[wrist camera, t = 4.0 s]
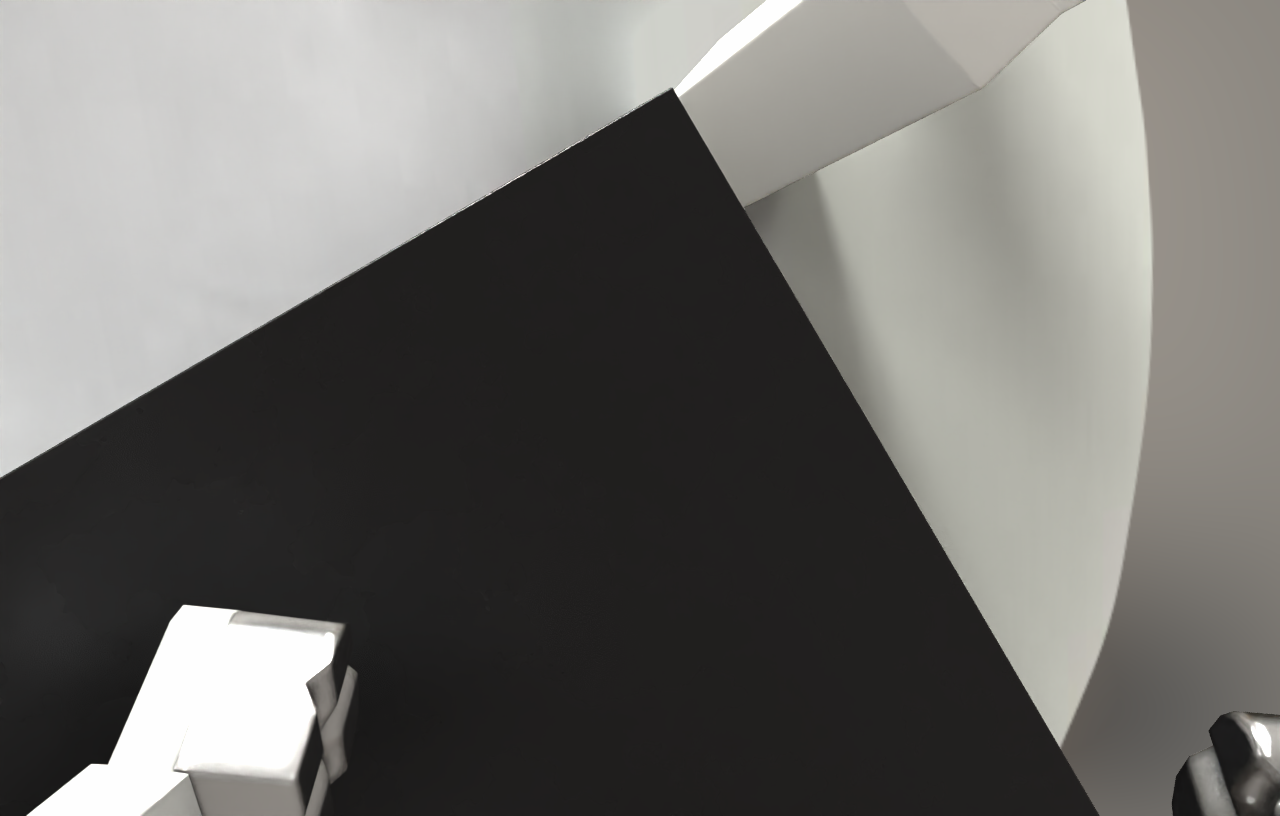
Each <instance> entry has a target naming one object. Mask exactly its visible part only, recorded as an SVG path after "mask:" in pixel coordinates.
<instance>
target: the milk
mask: <svg viewBox="0 0 1280 816" xmlns="http://www.w3.org/2000/svg"><path fill="white" fill-rule="evenodd" d="M1084 1H1086V0H767V1H766V2H765V3H763V4H762V5H761V6H760V7H759V8H757V9H756V10H755V11H754V12H753V13H751V14H750V15H749V16H748V17H747V18H745V19H744V20H743V21H742V22H741V23H739V24H738V25H737V26H736V27H735V28H733V29H732V30H731V31H730V32H729V33H727V34H726V35H725V36H724V37H723V38H721V39H720V40H719V41H718V43H717V44H716V45H715V46H714V47H713V48H712V49H711V50H710V51H709V52H708V54H707V55H706V56H705V57H704V58H703V59H702V60H701V61H700V62H699V64H698V65H697V66H696V67H695V68H694V69H693V70H692V71H691V72H690V74H689V75H688V76H687V77H686V78H685V79H684V80H683V81H682V82H681V84H680V85H679V86H678V87H677V88H676V89H675V90H674V91H675V93H676V94H677V96H678V98H679V99H680V101H681V103H682V104H683V106H684V108H685V110H686V111H687V113H688V115H689V116H690V118H691V120H692V122H693V123H694V125H695V127H696V128H697V130H698V132H699V133H700V135H701V137H702V139H703V140H704V142H705V144H706V145H707V147H708V149H709V150H710V152H711V154H712V156H713V157H714V159H715V161H716V162H717V164H718V166H719V168H720V169H721V171H722V173H723V174H724V176H725V178H726V179H727V181H728V183H729V185H730V186H731V188H732V190H733V191H734V193H735V195H736V197H737V198H738V200H739V202H740V203H741V205H742V207H743V208H744V207H746V206H748V205H750V204H752V203H754V202H756V201H758V200H760V199H762V198H764V197H766V196H768V195H770V194H772V193H774V192H776V191H778V190H780V189H782V188H784V187H786V186H788V185H790V184H792V183H794V182H796V181H798V180H800V179H802V178H804V177H806V176H808V175H810V174H812V173H814V172H816V171H818V170H820V169H822V168H824V167H826V166H828V165H830V164H832V163H834V162H836V161H838V160H840V159H842V158H844V157H846V156H848V155H850V154H852V153H854V152H856V151H858V150H860V149H862V148H864V147H866V146H868V145H870V144H872V143H874V142H876V141H878V140H880V139H882V138H884V137H886V136H888V135H890V134H892V133H894V132H896V131H898V130H900V129H902V128H904V127H906V126H908V125H910V124H912V123H914V122H916V121H918V120H920V119H922V118H924V117H926V116H928V115H930V114H932V113H934V112H936V111H938V110H940V109H942V108H944V107H946V106H948V105H950V104H952V103H954V102H956V101H958V100H960V99H962V98H964V97H966V96H968V95H970V94H972V93H974V92H976V91H978V90H980V89H982V88H983V87H985V86H986V85H987V84H988V83H989V82H990V81H991V80H992V79H993V78H994V77H995V76H996V75H997V74H999V73H1000V72H1001V71H1002V70H1003V69H1004V68H1005V67H1006V66H1007V65H1008V64H1009V63H1010V62H1011V61H1012V60H1013V59H1014V58H1015V57H1016V56H1018V55H1019V54H1020V53H1021V52H1022V51H1023V50H1024V49H1025V48H1026V47H1027V46H1028V45H1029V44H1030V43H1031V42H1032V41H1033V40H1034V39H1035V38H1036V37H1038V36H1039V35H1040V34H1041V33H1042V32H1043V31H1044V30H1045V29H1046V28H1047V27H1048V26H1049V25H1050V24H1051V23H1052V22H1053V21H1054V20H1055V19H1057V18H1058V17H1059V16H1060V15H1061V14H1062V13H1064V12H1066V11H1067V10H1069V9H1071V8H1073V7H1075V6H1077V5H1078V4H1080V3H1082V2H1084Z"/></svg>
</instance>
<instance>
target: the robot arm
mask: <svg viewBox="0 0 1280 816" xmlns="http://www.w3.org/2000/svg"><path fill="white" fill-rule="evenodd" d="M353 646H354V643H353V638H352V632H351V627H350V623H341V622H332V621H323V620H314V619H305V618H297V617H288V616H279V615H270V614H261V613H252V612H243V611H240V610H231V609H220V608H210V607H200V606H190V605H183V606H182V607H181V608H180V610H179V611H178V612H177V613H176V615H175V616H174V617H173V618H172V620H171V621H170V622H169V625H168V627H167V629H166V632H165V634H164V636H163V639H162V641H161V643H160V646H159V648H158V650H157V653H156V655H155V657H154V659H153V662H152V664H151V666H150V669H149V671H148V673H147V676H146V678H145V680H144V683H143V685H142V687H141V689H140V692H139V694H138V696H137V699H136V701H135V703H134V706H133V708H132V710H131V713H130V715H129V717H128V720H127V722H126V724H125V726H124V729H123V731H122V733H121V736H120V738H119V740H118V743H117V745H116V747H115V750H114V752H113V754H112V756H111V759H110V761H109V763H108V765H103V764H90V765H89V766H88V767H87V768H85V769H84V770H83V771H82V772H80V773H79V774H78V775H77V776H75V777H74V778H73V779H72V780H70V781H69V782H68V783H67V784H65V785H64V786H63V787H62V788H60V789H59V790H58V791H57V792H55V793H54V794H53V795H52V796H50V797H49V798H48V799H47V800H45V801H44V802H43V803H42V804H40V805H39V806H38V807H37V808H35V809H34V810H33V811H32V812H30V813H29V814H28V815H27V816H335V812H334V806H333V800H332V794H331V787H330V785H331V784H332V783H333V782H334V781H335V780H336V779H337V778H338V777H339V776H341V775H342V774H343V773H344V772H345V771H346V770H347V767H348V763H349V759H350V755H351V751H352V747H353V743H354V738H355V731H356V725H357V718H358V712H359V682H358V673H357V672H356V671H355V670H353V669H352V668H351V667H350V666H349V665H348V664H349V660H350V657H351V653H352V649H353ZM1209 733H1210V737H1211V740H1212V743H1213V746H1211V747H1209V748H1207V749H1205V750H1202V751H1200V752H1198V753H1196V754H1194V755H1191V756H1189V757H1188V759H1187V760H1186V762H1185V764H1184V765H1183V767H1182V768H1181V770H1180V771H1179V773H1178V774H1177V776H1176V780H1175V787H1174V793H1173V799H1172V810H1173V816H1280V715H1274V714H1262V713H1250V712H1237V711H1233V712H1230V713H1227V714H1224V715H1221V716H1220V717H1219V718H1218V719H1217V721H1216V722H1215V723H1214V724H1213V726H1212V727H1211V728H1210V730H1209Z"/></svg>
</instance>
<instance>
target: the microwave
mask: <svg viewBox="0 0 1280 816" xmlns="http://www.w3.org/2000/svg"><path fill="white" fill-rule="evenodd" d="M183 605H190V606H200V607H210V608H220V609H231V610H240V611H243V612H252V613H261V614H270V615H279V616H288V617H297V618H305V619H314V620H323V621H332V622H341V623H350V627H351V632H352V638H353V643H354V646H353V649H352V653H351V657H350V660H349V664H348V665H349V666H350V667H351V668H352V669H353V670H355V671H356V672H357V673H358V682H359V712H358V718H357V725H356V731H355V738H354V743H353V747H352V751H351V755H350V759H349V763H348V767H347V770H346V771H345V772H344V773H343V774H342V775H341V776H339V777H338V778H337V779H336V780H335V781H334V782H333V783H332V784H331V785H330V787H331V794H332V800H333V806H334V812H335V816H1099V814H1098V812H1097V811H1096V809H1095V807H1094V806H1093V804H1092V802H1091V800H1090V799H1089V797H1088V795H1087V793H1086V792H1085V790H1084V788H1083V787H1082V785H1081V783H1080V781H1079V780H1078V779H1077V776H1076V775H1075V773H1074V771H1073V770H1072V768H1071V766H1070V764H1069V763H1068V761H1067V759H1066V758H1065V756H1064V754H1063V752H1062V751H1061V749H1060V747H1059V746H1058V744H1057V742H1056V741H1055V739H1054V737H1053V735H1052V734H1051V732H1050V730H1049V729H1048V727H1047V725H1046V723H1045V722H1044V720H1043V718H1042V717H1041V715H1040V713H1039V712H1038V710H1037V708H1036V706H1035V705H1034V703H1033V701H1032V700H1031V698H1030V696H1029V694H1028V693H1027V691H1026V689H1025V688H1024V686H1023V684H1022V683H1021V681H1020V679H1019V677H1018V676H1017V674H1016V672H1015V671H1014V669H1013V667H1012V665H1011V664H1010V662H1009V660H1008V659H1007V657H1006V655H1005V654H1004V652H1003V650H1002V648H1001V647H1000V645H999V643H998V642H997V640H996V638H995V637H994V635H993V633H992V631H991V630H990V628H989V626H988V625H987V623H986V621H985V619H984V618H983V616H982V614H981V613H980V611H979V609H978V608H977V606H976V604H975V602H974V601H973V599H972V597H971V596H970V594H969V592H968V590H967V589H966V587H965V585H964V584H963V582H962V580H961V579H960V577H959V575H958V573H957V572H956V570H955V568H954V567H953V565H952V563H951V561H950V560H949V558H948V556H947V555H946V553H945V551H944V550H943V548H942V546H941V544H940V543H939V541H938V539H937V538H936V536H935V534H934V532H933V531H932V529H931V527H930V526H929V524H928V522H927V521H926V519H925V517H924V515H923V514H922V512H921V510H920V509H919V507H918V505H917V503H916V502H915V500H914V498H913V497H912V495H911V493H910V492H909V490H908V488H907V486H906V485H905V483H904V481H903V480H902V478H901V476H900V475H899V473H898V471H897V469H896V468H895V466H894V464H893V463H892V461H891V459H890V457H889V456H888V454H887V452H886V451H885V449H884V447H883V446H882V444H881V442H880V440H879V439H878V437H877V435H876V434H875V432H874V430H873V428H872V427H871V425H870V423H869V422H868V420H867V418H866V417H865V415H864V413H863V411H862V410H861V408H860V406H859V405H858V403H857V401H856V399H855V398H854V396H853V394H852V393H851V391H850V389H849V388H848V386H847V384H846V382H845V381H844V379H843V377H842V376H841V374H840V372H839V370H838V369H837V367H836V365H835V364H834V362H833V360H832V359H831V357H830V355H829V353H828V352H827V350H826V348H825V347H824V345H823V343H822V341H821V340H820V338H819V336H818V335H817V333H816V331H815V330H814V328H813V326H812V324H811V323H810V321H809V319H808V318H807V316H806V314H805V312H804V311H803V309H802V307H801V306H800V304H799V302H798V301H797V299H796V297H795V295H794V294H793V292H792V290H791V289H790V287H789V285H788V284H787V282H786V280H785V278H784V277H783V275H782V273H781V272H780V270H779V268H778V266H777V265H776V263H775V261H774V260H773V258H772V256H771V255H770V253H769V251H768V249H767V248H766V246H765V244H764V243H763V241H762V239H761V237H760V236H759V234H758V232H757V231H756V229H755V227H754V226H753V224H752V222H751V220H750V219H749V217H748V215H747V214H746V212H745V210H744V208H743V207H742V205H741V203H740V202H739V200H738V198H737V197H736V195H735V193H734V191H733V190H732V188H731V186H730V185H729V183H728V181H727V179H726V178H725V176H724V174H723V173H722V171H721V169H720V168H719V166H718V164H717V162H716V161H715V159H714V157H713V156H712V154H711V152H710V150H709V149H708V147H707V145H706V144H705V142H704V140H703V139H702V137H701V135H700V133H699V132H698V130H697V128H696V127H695V125H694V123H693V122H692V120H691V118H690V116H689V115H688V113H687V111H686V110H685V108H684V106H683V104H682V103H681V101H680V99H679V98H678V96H677V94H676V93H675V91H674V89H673V88H669V89H668V90H666V91H664V92H662V93H661V94H659V95H657V96H656V97H654V98H652V99H650V100H649V101H647V102H645V103H643V104H642V105H640V106H638V107H637V108H635V109H633V110H631V111H630V112H628V113H626V114H625V115H623V116H621V117H619V118H618V119H616V120H614V121H613V122H611V123H609V124H607V125H606V126H604V127H602V128H601V129H599V130H597V131H595V132H594V133H592V134H590V135H589V136H587V137H585V138H583V139H582V140H580V141H578V142H576V143H575V144H573V145H571V146H570V147H568V148H566V149H564V150H563V151H561V152H559V153H558V154H556V155H554V156H552V157H551V158H549V159H547V160H546V161H544V162H542V163H540V164H539V165H537V166H535V167H534V168H532V169H530V170H528V171H527V172H525V173H523V174H522V175H520V176H518V177H516V178H515V179H513V180H511V181H509V182H508V183H506V184H504V185H503V186H501V187H499V188H497V189H496V190H494V191H492V192H491V193H489V194H487V195H485V196H484V197H482V198H480V199H479V200H477V201H475V202H473V203H472V204H470V205H468V206H467V207H465V208H463V209H461V210H460V211H458V212H456V213H454V214H453V215H451V216H449V217H448V218H446V219H444V220H442V221H441V222H439V223H437V224H436V225H434V226H432V227H430V228H429V229H427V230H425V231H424V232H422V233H420V234H418V235H417V236H415V237H413V238H412V239H410V240H408V241H406V242H405V243H403V244H401V245H400V246H398V247H396V248H394V249H393V250H391V251H389V252H387V253H386V254H384V255H382V256H381V257H379V258H377V259H375V260H374V261H372V262H370V263H369V264H367V265H365V266H363V267H362V268H360V269H358V270H357V271H355V272H353V273H351V274H350V275H348V276H346V277H345V278H343V279H341V280H339V281H338V282H336V283H334V284H332V285H331V286H329V287H327V288H326V289H324V290H322V291H320V292H319V293H317V294H315V295H314V296H312V297H310V298H308V299H307V300H305V301H303V302H302V303H300V304H298V305H296V306H295V307H293V308H291V309H290V310H288V311H286V312H284V313H283V314H281V315H279V316H278V317H276V318H274V319H272V320H271V321H269V322H267V323H265V324H264V325H262V326H260V327H259V328H257V329H255V330H253V331H252V332H250V333H248V334H247V335H245V336H243V337H241V338H240V339H238V340H236V341H235V342H233V343H231V344H229V345H228V346H226V347H224V348H223V349H221V350H219V351H217V352H216V353H214V354H212V355H210V356H209V357H207V358H205V359H204V360H202V361H200V362H198V363H197V364H195V365H193V366H192V367H190V368H188V369H186V370H185V371H183V372H181V373H180V374H178V375H176V376H174V377H173V378H171V379H169V380H168V381H166V382H164V383H162V384H161V385H159V386H157V387H156V388H154V389H152V390H150V391H149V392H147V393H145V394H143V395H142V396H140V397H138V398H137V399H135V400H133V401H131V402H130V403H128V404H126V405H125V406H123V407H121V408H119V409H118V410H116V411H114V412H113V413H111V414H109V415H107V416H106V417H104V418H102V419H101V420H99V421H97V422H95V423H94V424H92V425H90V426H89V427H87V428H85V429H83V430H82V431H80V432H78V433H76V434H75V435H73V436H71V437H70V438H68V439H66V440H64V441H63V442H61V443H59V444H58V445H56V446H54V447H52V448H51V449H49V450H47V451H46V452H44V453H42V454H40V455H39V456H37V457H35V458H34V459H32V460H30V461H28V462H27V463H25V464H23V465H21V466H20V467H18V468H16V469H15V470H13V471H11V472H9V473H8V474H6V475H4V476H3V477H1V478H0V816H27V815H28V814H29V813H30V812H32V811H33V810H34V809H35V808H37V807H38V806H39V805H40V804H42V803H43V802H44V801H45V800H47V799H48V798H49V797H50V796H52V795H53V794H54V793H55V792H57V791H58V790H59V789H60V788H62V787H63V786H64V785H65V784H67V783H68V782H69V781H70V780H72V779H73V778H74V777H75V776H77V775H78V774H79V773H80V772H82V771H83V770H84V769H85V768H87V767H88V766H89V765H90V764H103V765H108V763H109V761H110V759H111V756H112V754H113V752H114V750H115V747H116V745H117V743H118V740H119V738H120V736H121V733H122V731H123V729H124V726H125V724H126V722H127V720H128V717H129V715H130V713H131V710H132V708H133V706H134V703H135V701H136V699H137V696H138V694H139V692H140V689H141V687H142V685H143V683H144V680H145V678H146V676H147V673H148V671H149V669H150V666H151V664H152V662H153V659H154V657H155V655H156V653H157V650H158V648H159V646H160V643H161V641H162V639H163V636H164V634H165V632H166V629H167V627H168V625H169V622H170V621H171V620H172V618H173V617H174V616H175V615H176V613H177V612H178V611H179V610H180V608H181V607H182V606H183Z"/></svg>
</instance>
